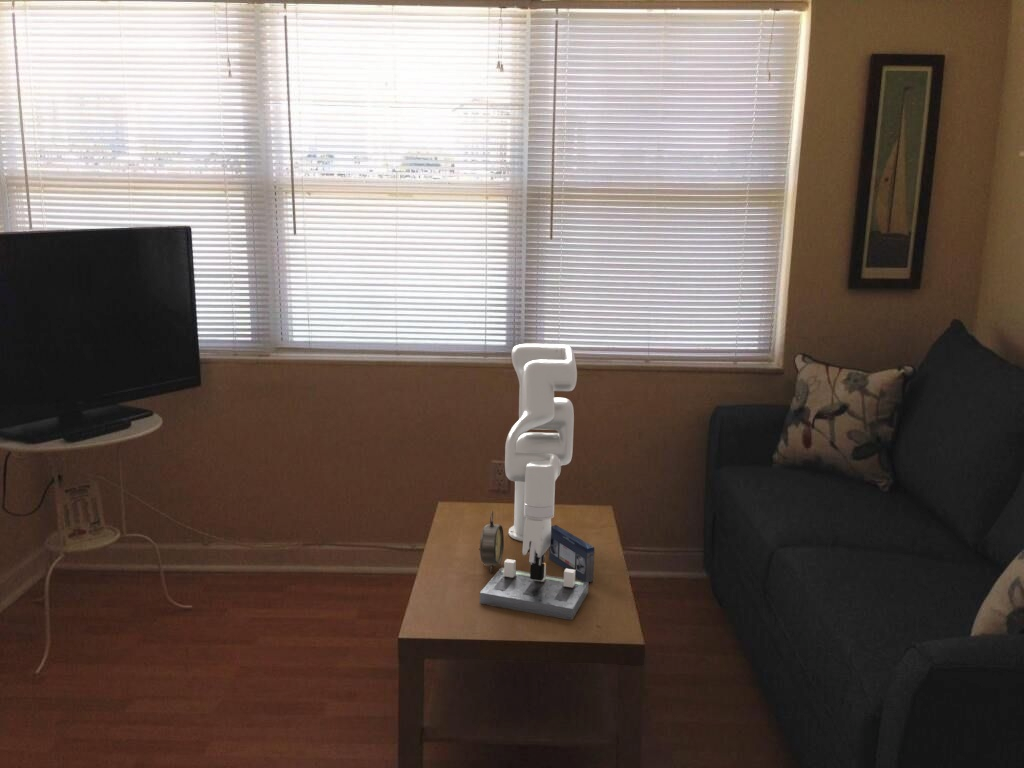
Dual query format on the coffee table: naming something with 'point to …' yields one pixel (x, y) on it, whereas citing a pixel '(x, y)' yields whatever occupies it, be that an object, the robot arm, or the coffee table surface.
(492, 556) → the dial indicator gauge
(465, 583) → the coffee table surface
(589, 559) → the vhs cassette tape
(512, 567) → the breaker
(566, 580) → the block
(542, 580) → the block
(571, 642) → the coffee table surface
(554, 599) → the breaker panel
